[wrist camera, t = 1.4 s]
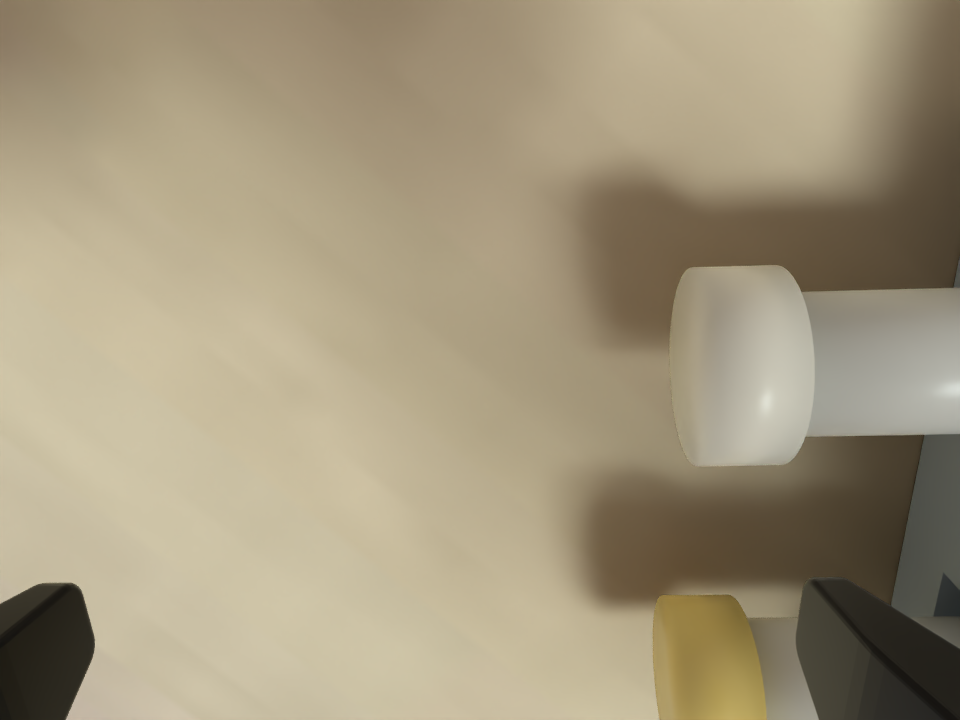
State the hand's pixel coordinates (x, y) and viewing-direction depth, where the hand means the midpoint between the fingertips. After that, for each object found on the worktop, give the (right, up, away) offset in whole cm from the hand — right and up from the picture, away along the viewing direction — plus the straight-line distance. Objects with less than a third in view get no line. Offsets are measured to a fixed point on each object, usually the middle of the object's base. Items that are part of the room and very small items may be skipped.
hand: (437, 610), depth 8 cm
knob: (+10, +4, +9) cm, 14 cm away
